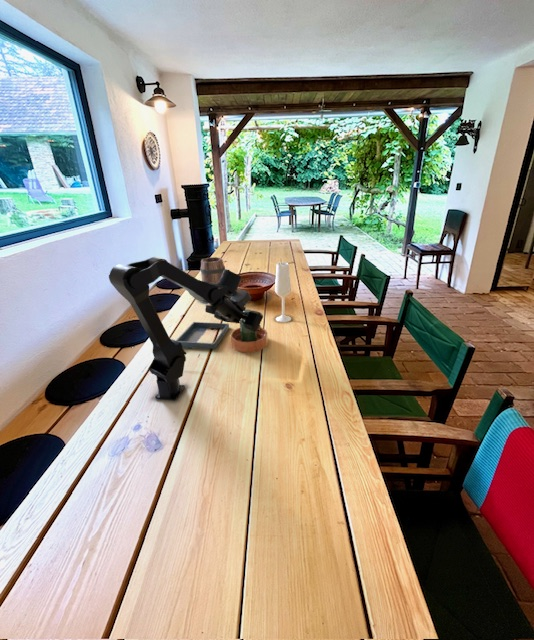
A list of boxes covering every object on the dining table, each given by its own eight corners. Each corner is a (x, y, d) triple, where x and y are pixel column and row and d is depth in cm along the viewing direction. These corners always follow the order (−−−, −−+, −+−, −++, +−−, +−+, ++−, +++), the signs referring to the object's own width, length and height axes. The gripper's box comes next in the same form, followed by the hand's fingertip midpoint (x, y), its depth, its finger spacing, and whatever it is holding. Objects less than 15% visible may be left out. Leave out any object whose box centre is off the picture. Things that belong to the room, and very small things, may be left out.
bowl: (263, 355, 111) (262, 343, 109) (226, 352, 113) (225, 341, 112) (270, 337, 123) (270, 326, 121) (237, 335, 125) (236, 325, 123)
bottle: (255, 347, 115) (253, 314, 109) (239, 346, 116) (236, 313, 110) (259, 339, 120) (257, 307, 114) (243, 339, 121) (241, 307, 116)
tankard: (231, 302, 157) (228, 262, 149) (197, 304, 156) (191, 264, 148) (233, 287, 178) (230, 251, 170) (203, 289, 178) (198, 253, 169)
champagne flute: (293, 317, 139) (293, 262, 129) (288, 323, 134) (287, 266, 124) (279, 314, 142) (278, 261, 132) (273, 320, 136) (271, 265, 126)
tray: (215, 350, 115) (214, 344, 114) (175, 347, 118) (174, 341, 117) (229, 329, 131) (228, 323, 129) (194, 327, 133) (193, 321, 132)
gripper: (258, 290, 99) (280, 310, 112) (216, 280, 110) (240, 300, 123) (242, 322, 97) (266, 339, 110) (201, 308, 108) (227, 326, 120)
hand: (250, 325), depth 116 cm, fingers open, 9 cm apart
